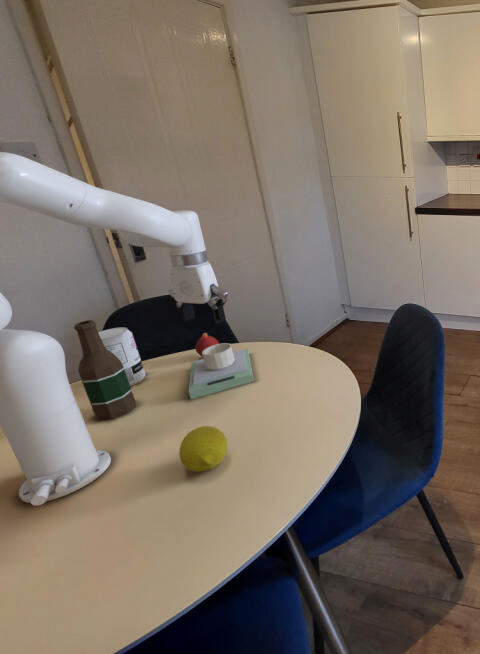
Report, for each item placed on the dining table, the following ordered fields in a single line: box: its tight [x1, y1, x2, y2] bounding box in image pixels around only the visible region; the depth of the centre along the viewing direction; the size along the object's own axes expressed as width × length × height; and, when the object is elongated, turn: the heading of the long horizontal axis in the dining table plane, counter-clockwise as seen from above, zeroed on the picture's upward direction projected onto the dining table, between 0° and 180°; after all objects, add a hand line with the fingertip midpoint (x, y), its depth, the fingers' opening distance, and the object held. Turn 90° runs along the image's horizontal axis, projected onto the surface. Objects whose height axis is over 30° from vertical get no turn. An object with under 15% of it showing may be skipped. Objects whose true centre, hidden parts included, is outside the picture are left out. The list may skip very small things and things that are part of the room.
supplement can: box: [98, 326, 146, 387], centre depth 112 cm, size 8×8×15 cm
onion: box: [194, 332, 220, 357], centre depth 126 cm, size 6×6×8 cm
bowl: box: [202, 342, 235, 370], centre depth 116 cm, size 7×7×5 cm
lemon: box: [178, 425, 228, 473], centre depth 84 cm, size 11×8×8 cm
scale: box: [188, 348, 255, 400], centre depth 117 cm, size 18×14×3 cm
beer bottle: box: [73, 319, 137, 421], centre depth 99 cm, size 8×8×24 cm
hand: (204, 320), depth 111 cm, fingers open, 9 cm apart
